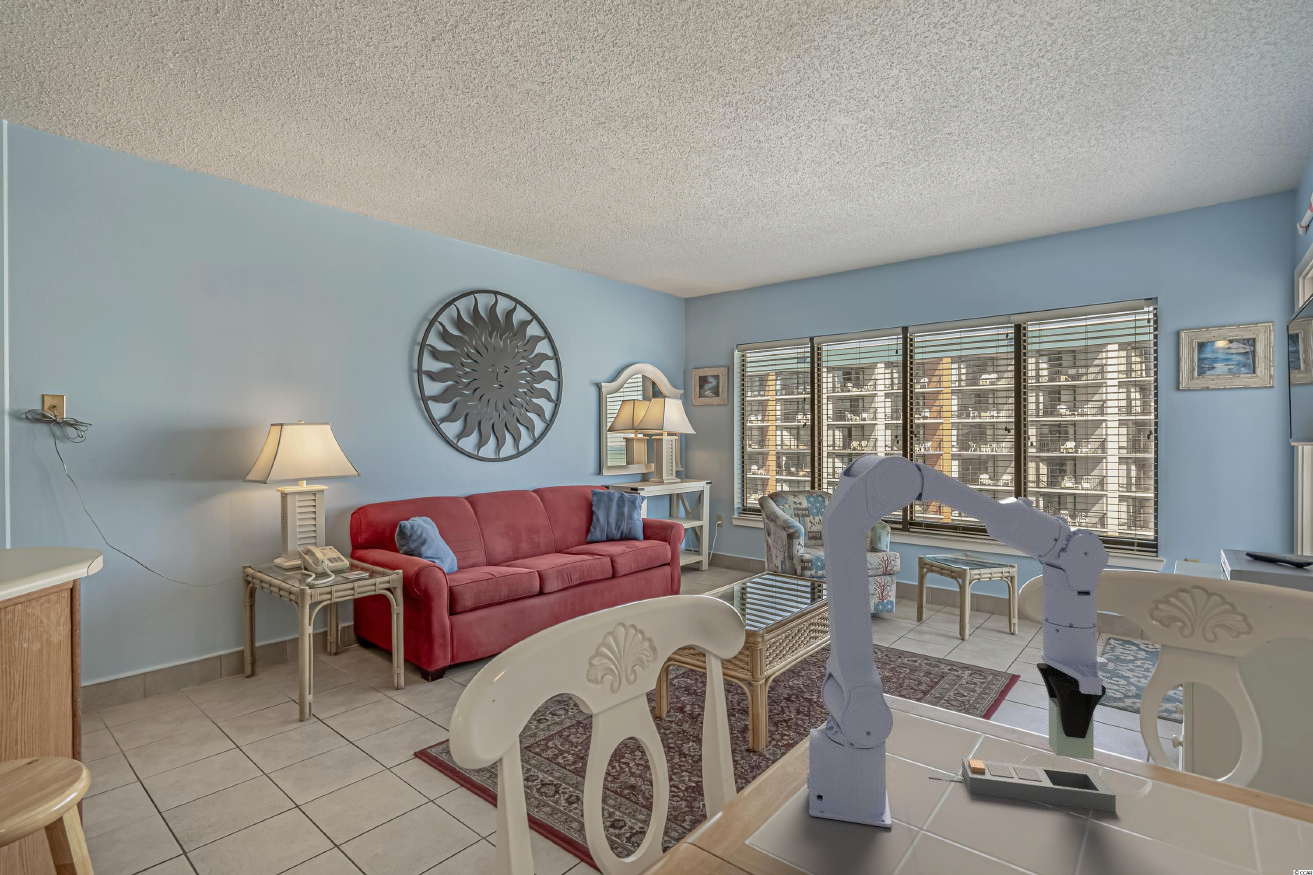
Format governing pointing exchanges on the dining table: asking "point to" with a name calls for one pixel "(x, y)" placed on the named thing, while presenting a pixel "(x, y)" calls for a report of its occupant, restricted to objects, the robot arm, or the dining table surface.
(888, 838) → the dining table surface
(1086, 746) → the charger
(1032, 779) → the power strip
